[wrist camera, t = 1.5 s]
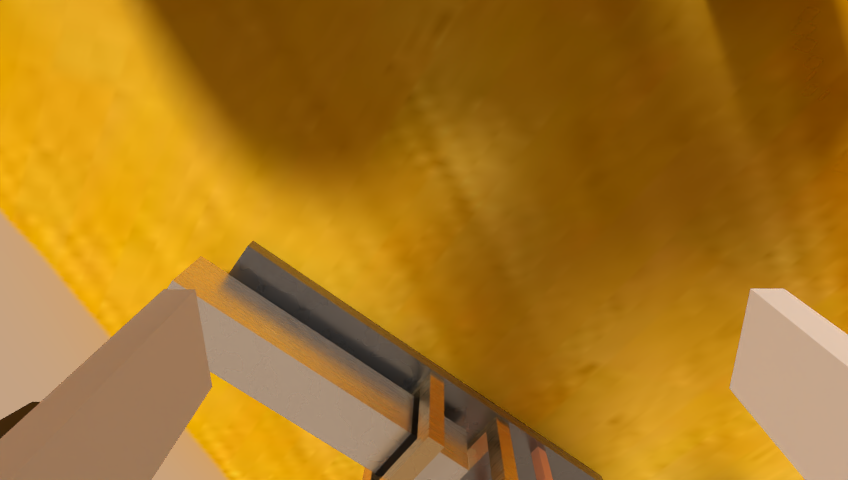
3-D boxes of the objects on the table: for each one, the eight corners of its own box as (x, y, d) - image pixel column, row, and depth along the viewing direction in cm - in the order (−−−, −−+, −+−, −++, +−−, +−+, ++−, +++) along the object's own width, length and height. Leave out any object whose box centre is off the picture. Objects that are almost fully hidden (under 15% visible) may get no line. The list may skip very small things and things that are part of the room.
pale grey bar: (171, 300, 37) (140, 329, 33) (201, 255, 36) (172, 280, 32) (432, 465, 41) (431, 509, 37) (466, 429, 40) (469, 470, 36)
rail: (196, 323, 40) (138, 388, 32) (252, 240, 37) (205, 289, 30) (534, 537, 45) (552, 635, 38) (601, 476, 43) (635, 566, 35)
